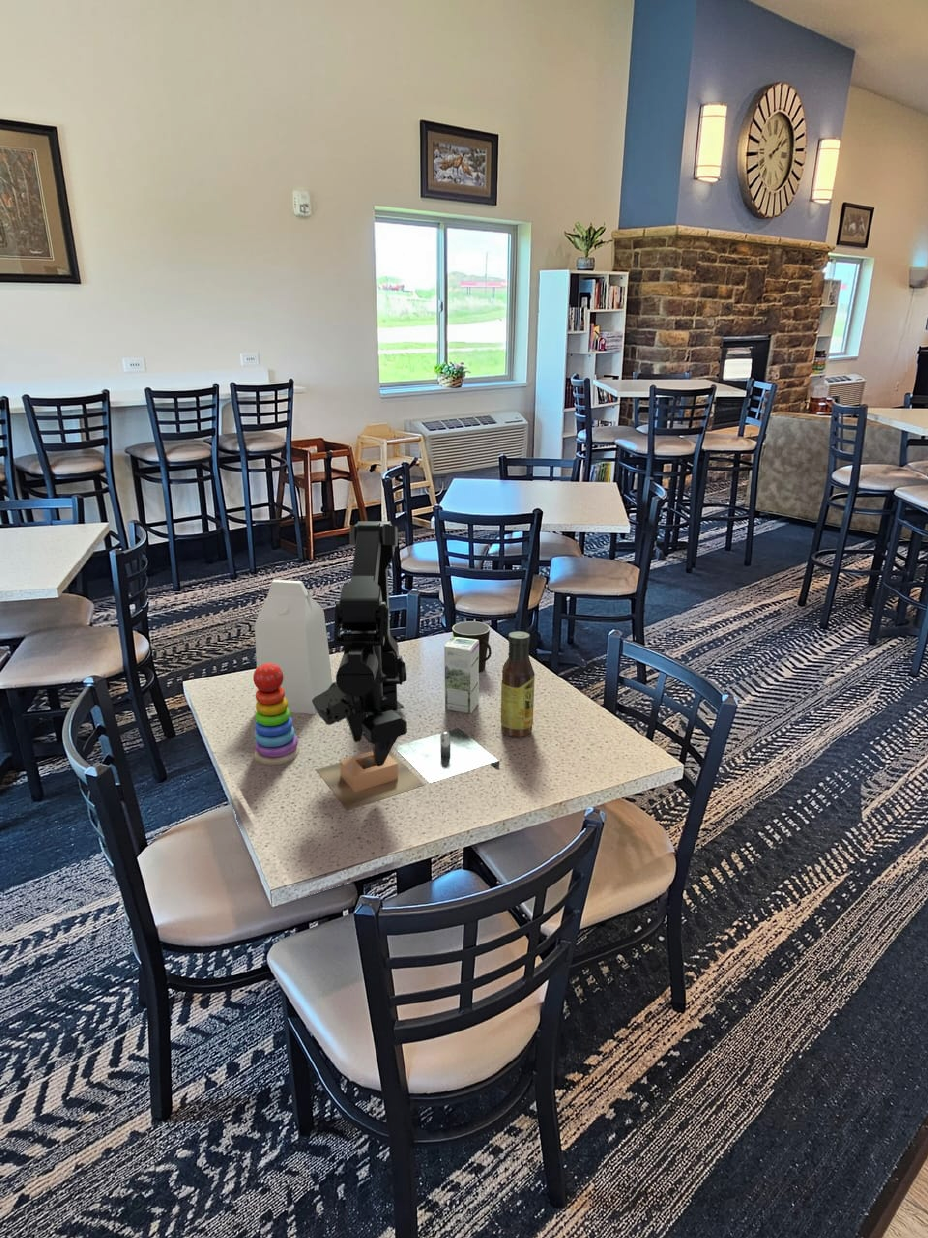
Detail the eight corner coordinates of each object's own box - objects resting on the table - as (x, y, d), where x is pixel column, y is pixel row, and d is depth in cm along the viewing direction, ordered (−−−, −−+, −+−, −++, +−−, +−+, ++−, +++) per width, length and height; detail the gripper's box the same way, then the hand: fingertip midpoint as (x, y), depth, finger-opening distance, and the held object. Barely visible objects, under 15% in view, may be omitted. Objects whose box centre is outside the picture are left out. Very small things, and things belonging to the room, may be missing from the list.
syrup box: (479, 702, 158) (480, 638, 152) (470, 715, 152) (470, 649, 147) (453, 698, 159) (453, 634, 154) (444, 711, 154) (443, 645, 149)
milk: (333, 689, 164) (325, 574, 154) (314, 714, 153) (304, 592, 144) (281, 685, 165) (270, 571, 156) (258, 709, 155) (245, 588, 146)
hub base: (393, 751, 139) (392, 725, 137) (459, 732, 146) (459, 707, 144) (430, 788, 128) (429, 760, 126) (499, 765, 134) (499, 739, 133)
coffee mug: (450, 661, 177) (450, 621, 174) (487, 660, 178) (487, 620, 175) (455, 682, 166) (455, 641, 163) (494, 681, 167) (495, 639, 164)
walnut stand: (316, 774, 132) (314, 752, 130) (388, 753, 138) (387, 731, 137) (347, 815, 120) (345, 791, 119) (424, 790, 127) (424, 767, 126)
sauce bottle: (530, 740, 143) (534, 643, 136) (497, 737, 144) (499, 640, 137) (534, 724, 149) (538, 630, 142) (503, 721, 150) (505, 627, 143)
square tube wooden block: (340, 775, 130) (339, 760, 129) (383, 762, 133) (382, 748, 132) (354, 792, 125) (353, 777, 124) (398, 778, 129) (397, 763, 128)
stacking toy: (251, 751, 139) (241, 658, 132) (295, 743, 142) (286, 651, 135) (258, 773, 132) (247, 676, 126) (304, 763, 135) (295, 668, 128)
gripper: (296, 659, 126) (303, 741, 131) (339, 703, 111) (345, 794, 116) (358, 645, 131) (362, 725, 137) (407, 686, 116) (409, 773, 122)
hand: (368, 753), depth 128 cm, fingers open, 9 cm apart
